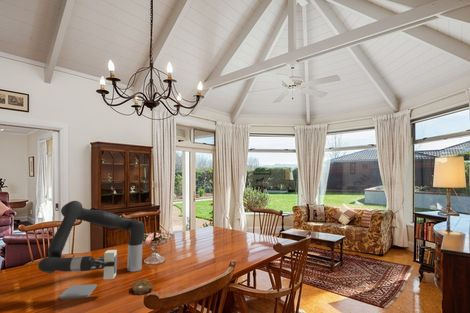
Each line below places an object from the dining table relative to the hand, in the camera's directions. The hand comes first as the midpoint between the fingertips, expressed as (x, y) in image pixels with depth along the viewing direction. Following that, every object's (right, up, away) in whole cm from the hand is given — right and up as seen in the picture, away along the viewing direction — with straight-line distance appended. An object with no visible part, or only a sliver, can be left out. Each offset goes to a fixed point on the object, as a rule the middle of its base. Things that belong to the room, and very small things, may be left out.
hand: (115, 262), depth 146 cm
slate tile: (-21, -17, +1) cm, 27 cm away
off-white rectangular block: (-3, -8, -1) cm, 8 cm away
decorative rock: (+13, -18, +6) cm, 23 cm away
